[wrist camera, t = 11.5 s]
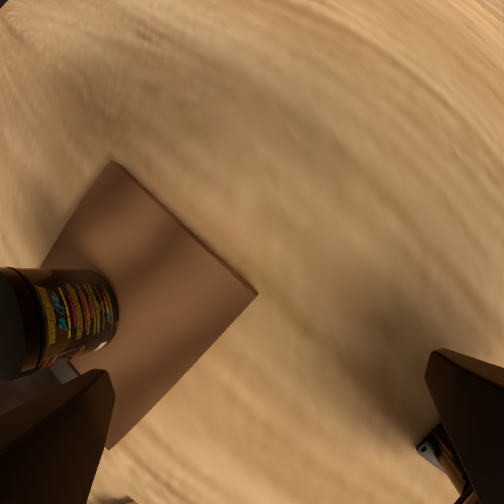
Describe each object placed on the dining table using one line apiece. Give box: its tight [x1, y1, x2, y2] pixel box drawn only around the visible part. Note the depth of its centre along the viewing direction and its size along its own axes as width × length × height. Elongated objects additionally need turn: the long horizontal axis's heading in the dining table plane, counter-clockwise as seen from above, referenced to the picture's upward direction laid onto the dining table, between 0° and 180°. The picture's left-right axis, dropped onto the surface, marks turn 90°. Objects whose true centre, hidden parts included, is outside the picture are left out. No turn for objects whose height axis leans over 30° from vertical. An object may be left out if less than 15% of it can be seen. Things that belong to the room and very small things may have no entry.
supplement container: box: [0, 267, 119, 381], centre depth 15 cm, size 6×6×9 cm
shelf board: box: [0, 160, 259, 450], centre depth 16 cm, size 14×18×12 cm
